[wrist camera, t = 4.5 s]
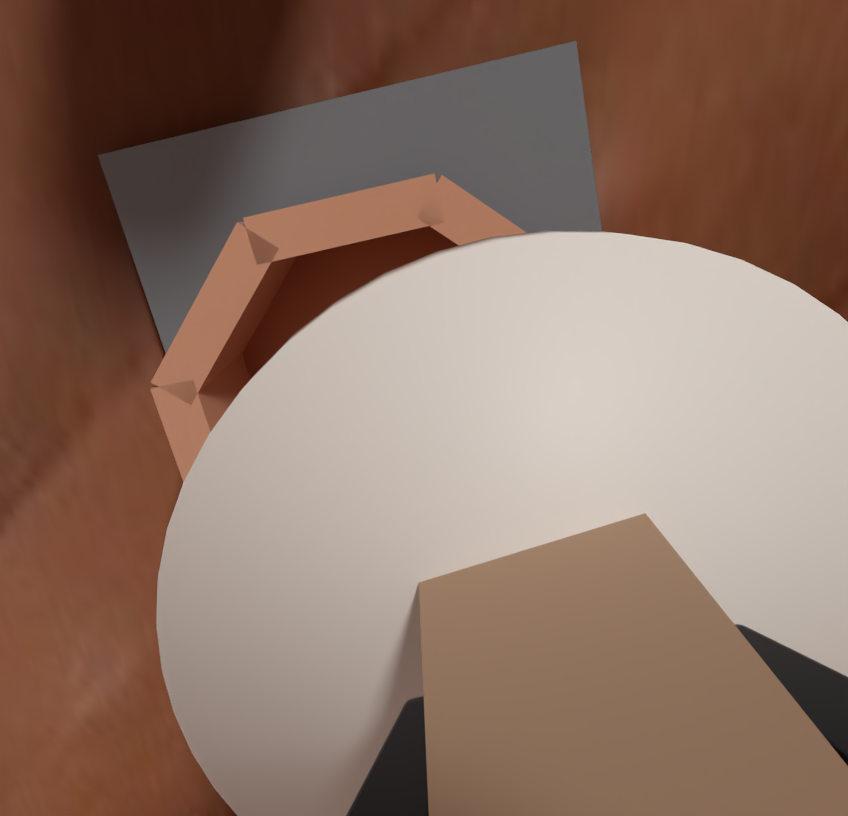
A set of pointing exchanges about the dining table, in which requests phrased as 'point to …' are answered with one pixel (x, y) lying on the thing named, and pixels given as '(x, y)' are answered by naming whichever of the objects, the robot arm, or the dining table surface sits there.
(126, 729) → the dining table surface
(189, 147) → the mat
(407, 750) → the robot arm
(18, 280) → the dining table surface
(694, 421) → the lid
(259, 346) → the bowl
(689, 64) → the dining table surface
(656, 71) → the dining table surface
